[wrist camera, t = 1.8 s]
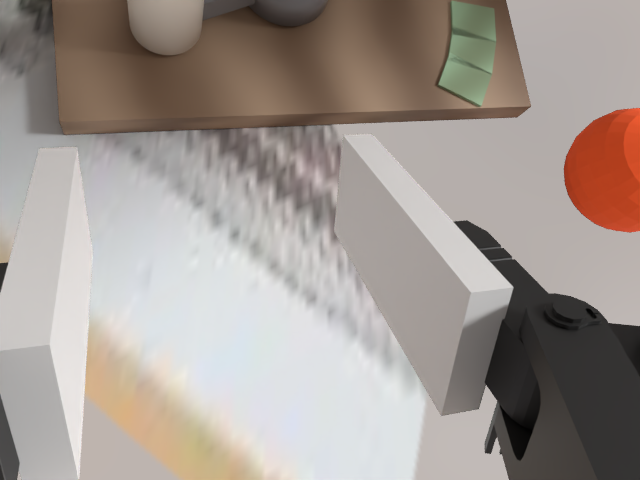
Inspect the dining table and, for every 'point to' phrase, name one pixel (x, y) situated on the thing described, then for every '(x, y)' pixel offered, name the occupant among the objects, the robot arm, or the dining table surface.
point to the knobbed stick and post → (200, 4)
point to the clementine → (607, 171)
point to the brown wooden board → (290, 68)
